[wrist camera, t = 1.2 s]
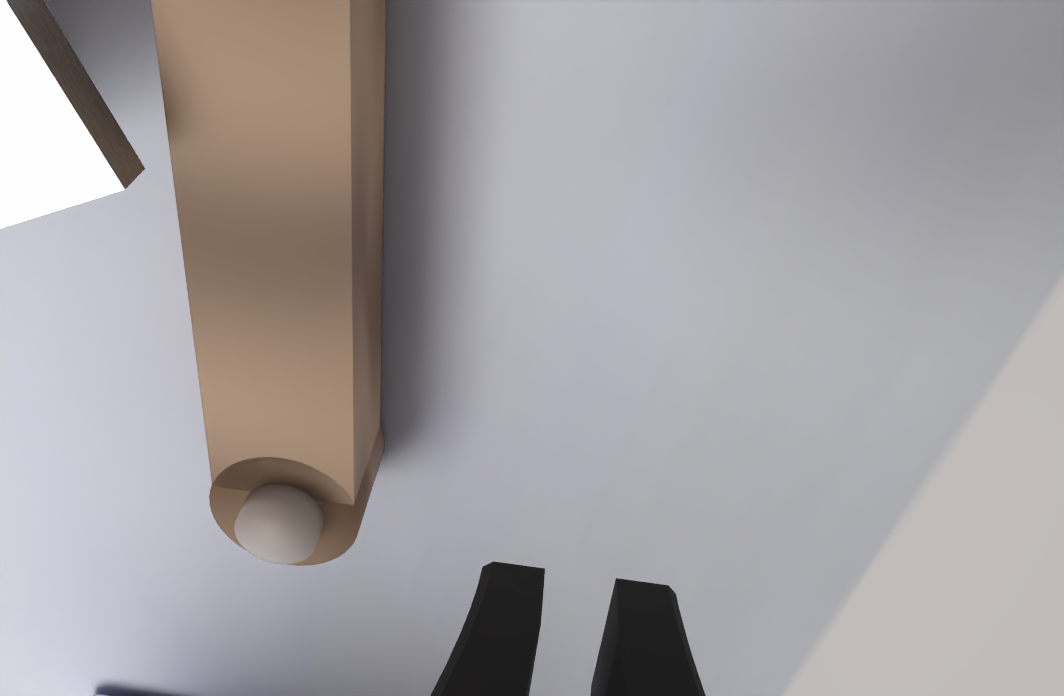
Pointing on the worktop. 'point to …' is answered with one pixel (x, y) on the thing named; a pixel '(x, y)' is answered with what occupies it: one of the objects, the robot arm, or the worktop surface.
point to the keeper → (52, 122)
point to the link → (282, 257)
